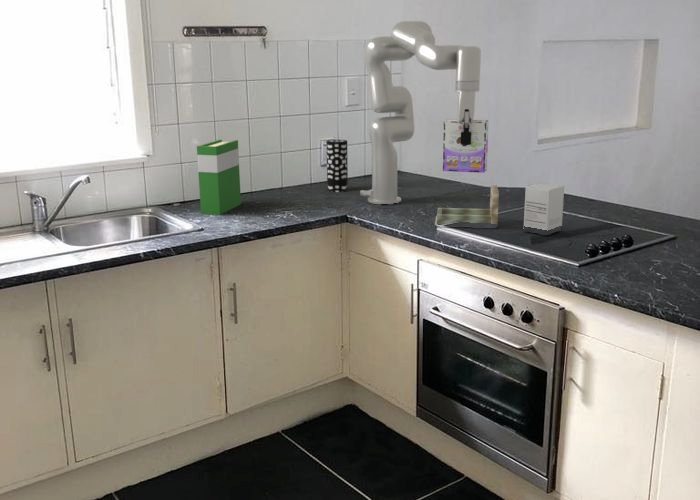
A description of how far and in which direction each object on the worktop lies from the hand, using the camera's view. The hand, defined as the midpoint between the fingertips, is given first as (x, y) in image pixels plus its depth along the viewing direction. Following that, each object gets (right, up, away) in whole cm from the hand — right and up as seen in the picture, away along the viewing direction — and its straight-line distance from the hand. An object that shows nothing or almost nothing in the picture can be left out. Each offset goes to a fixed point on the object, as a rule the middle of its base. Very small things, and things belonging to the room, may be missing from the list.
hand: (465, 142), depth 244 cm
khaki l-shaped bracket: (+1, -26, +7) cm, 27 cm away
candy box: (0, -9, +3) cm, 9 cm away
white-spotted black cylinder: (-42, -10, +63) cm, 77 cm away
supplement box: (+24, -29, -3) cm, 38 cm away
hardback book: (-84, -20, +32) cm, 92 cm away
